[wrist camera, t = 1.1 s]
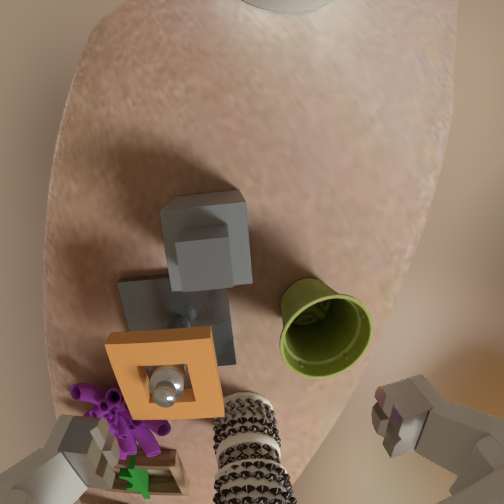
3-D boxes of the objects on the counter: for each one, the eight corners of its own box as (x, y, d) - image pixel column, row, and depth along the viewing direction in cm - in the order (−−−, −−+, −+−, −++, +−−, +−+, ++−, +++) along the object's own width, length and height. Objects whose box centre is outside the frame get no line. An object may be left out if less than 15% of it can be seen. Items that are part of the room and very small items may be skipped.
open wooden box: (83, 445, 42) (78, 459, 39) (176, 450, 43) (174, 466, 40) (104, 476, 45) (100, 489, 42) (189, 480, 46) (188, 495, 43)
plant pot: (343, 258, 36) (376, 287, 28) (343, 328, 39) (369, 368, 31) (263, 269, 36) (276, 304, 27) (270, 341, 38) (282, 386, 30)
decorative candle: (220, 437, 43) (230, 585, 19) (202, 396, 40) (201, 568, 16) (280, 425, 43) (315, 572, 19) (268, 383, 40) (308, 555, 17)
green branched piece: (118, 448, 42) (113, 467, 38) (137, 450, 43) (133, 469, 39) (134, 480, 45) (131, 497, 41) (152, 482, 46) (149, 499, 42)
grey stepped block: (175, 196, 32) (148, 221, 20) (239, 189, 33) (250, 210, 20) (183, 257, 34) (164, 314, 22) (244, 251, 35) (258, 305, 22)
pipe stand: (119, 278, 34) (75, 342, 21) (224, 268, 35) (228, 333, 22) (142, 365, 38) (120, 443, 25) (235, 358, 39) (243, 440, 26)
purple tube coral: (142, 359, 41) (177, 405, 35) (135, 426, 45) (164, 468, 39) (66, 370, 33) (91, 426, 27) (73, 439, 37) (97, 488, 31)
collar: (110, 332, 26) (104, 344, 24) (210, 325, 26) (210, 338, 24) (136, 406, 28) (133, 419, 27) (224, 402, 29) (224, 416, 27)
